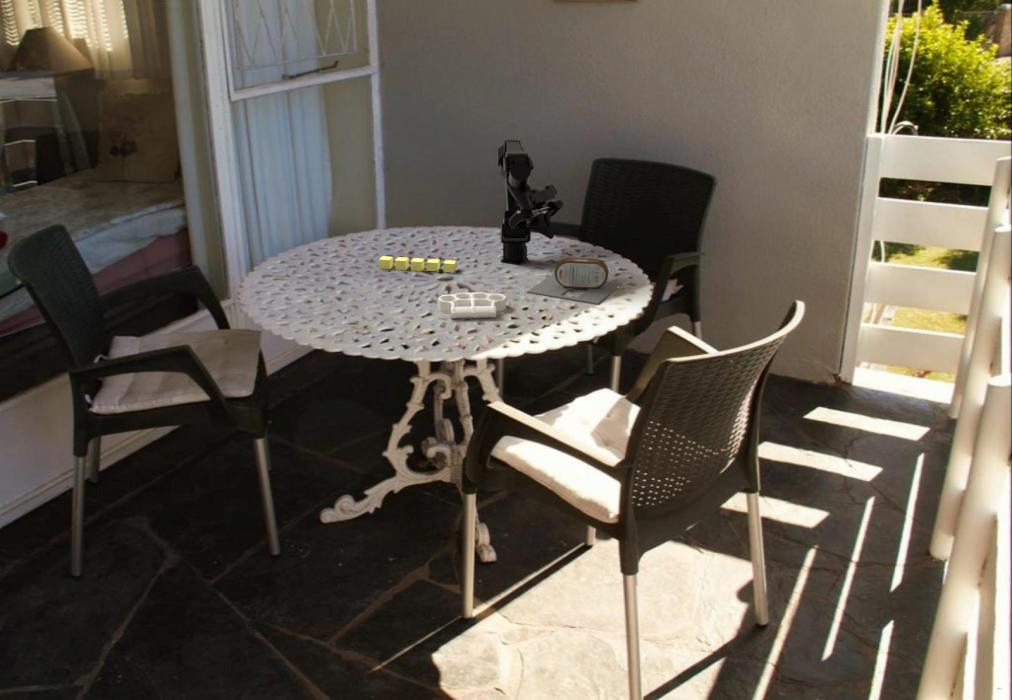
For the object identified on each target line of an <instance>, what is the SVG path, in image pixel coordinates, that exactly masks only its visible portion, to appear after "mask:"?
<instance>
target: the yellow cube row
mask: <svg viewBox="0 0 1012 700" xmlns="http://www.w3.org/2000/svg"><path fill="white" fill-rule="evenodd" d="M393 258H394V257H393V256H385V255H384V256H381V257H380V258H379V260H378V263H379V265H378V266H379V270H391V269H393V267H394V268H395V271H407V270H408V269H409V267H410V271H411V272H423V271H424V269H425V258H418V257H414V258H412V260H410V261H409V259H410V258H409V257H403V256H402V257H400V256H398V257H397V258H396V259H395V260H394V259H393ZM457 262H458V261H457V260H449V259H445V261H444V262H443V263H442V264H443V265H442V266H443V273H444V272H455V271H456V272H457V270H456V269H458V268H457V267H458V265H457V264H458V263H457ZM409 263H410V264H409ZM439 269H440V270H441V259H435V258H434V259H433V258H429V259H428V260H427V261H426V272H427V271H437V272H436V273H439V271H440V270H439ZM422 270H423V271H422ZM438 270H439V271H438ZM456 272H455V273H456Z"/></svg>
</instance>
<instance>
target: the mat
mask: <svg viewBox="0 0 1012 700" xmlns="http://www.w3.org/2000/svg"><path fill="white" fill-rule="evenodd" d="M621 284H622V285H623V282H617V281H611V280H610V281H609V280H607V281H606V283H605V284H604V285H603V286H601V287H600V288H597V289H587V290H585V292H583V293H582V294H581V295H580V296H578V297H574V296H566V295H565V294H566V293H568V291H570V290H571V289H572V288H567V287H563V286H562V285H560V284H559V283H558V282H557V280H556V278H555V272H554V273H552V274H550V275H549V276H547V277H546V278H545V279H543V280H542V281H540V282H539V283H537V284H536V285H534V286H532V287H531V288H529V290H527V291H526V294H531V293H532V294H533V295H537V296H542V295H543V296H544V297H548V296H549V298H554V297H555V298H556V299H561V300H568V301H573V302H579V303H585V304H591V305H595V306H596V305H597V306H598V305H600V303H602V302H603V301H604V300H606V299H607V298H608V297H609V296H610V295H611V294H613V293H614V292H615V291H616V290H617V289H618V288H617V287H618V286H620V285H621ZM622 285H621V286H622ZM621 286H620V287H621ZM616 288H617V289H616ZM615 289H616V290H615ZM614 290H615V291H614ZM613 291H614V292H613ZM564 293H565V294H564ZM609 294H610V295H609ZM608 295H609V296H608ZM607 296H608V297H607Z"/></svg>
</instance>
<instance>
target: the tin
mask: <svg viewBox="0 0 1012 700" xmlns="http://www.w3.org/2000/svg"><path fill="white" fill-rule="evenodd" d="M554 273H555V278H556V280H557V282H558V283H559V284H560V285H562V286H563V287H567V288H571V289H587V290H588V289H597V288H600V287H601V286H603V285H604V284H605V283H606V281H608V279H609V268H608V266H607V264H606V263H605V261H602V260H601V259H599V258H591V257H589V258H586V257H570V256H569V257H564V258H562V259H560V260H559V261H558V262H557V263H556V265H555V267H554Z"/></svg>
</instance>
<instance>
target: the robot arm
mask: <svg viewBox="0 0 1012 700" xmlns="http://www.w3.org/2000/svg"><path fill="white" fill-rule="evenodd" d="M521 143H522V142H521V140H519V139H505V140H503V144H502V145H501V146H500V147H499V148H497V152H496V166H497V167H499V174H500V176H501V177H502V178H503V179H504V180H505V182H504V183H505V201H506V210H505V212H504V215H503V218H502V219H503V220H502V222H501V223H500V231H499V234H500V236H499V238H500V239H499V240H500V243H501V244H502V258H501V259H500V262H501V263H507V264H514V265H521V264H522V263H524V262H526V261H528V259H529V257H528V246H527V244H529V243H530V242H532V241H531V239H532V238H531V237H532V230H534V231H535V232H538V233H540V234H541V235H543V236H544V237H546V238H547V239H549V240H552V239H553V238H554V237H555V234H554V231H553V226H552V222H551V218H552V217H554V216H555V215H556V214H557V213H558V212H559V211H561V209H562V208H564V206H565V204H564V202H563V201H562V200H561V199H560V198H559V199H558V198H557V197H556V196H557V195H558V189H557V188H556V187H555V185H554V184H549V185H546V186H545V187H544V189H542V190H538V189H537V188H534V189H533V188H532V187H531V184H530V183H529V182H530V179H531V172H532V170H534V162H533V160H532V158H531V156H529V153H528V152H527V151H525V148H524V147H523V146H522V144H521ZM556 198H557V199H556ZM547 201H548V202H547Z"/></svg>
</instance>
